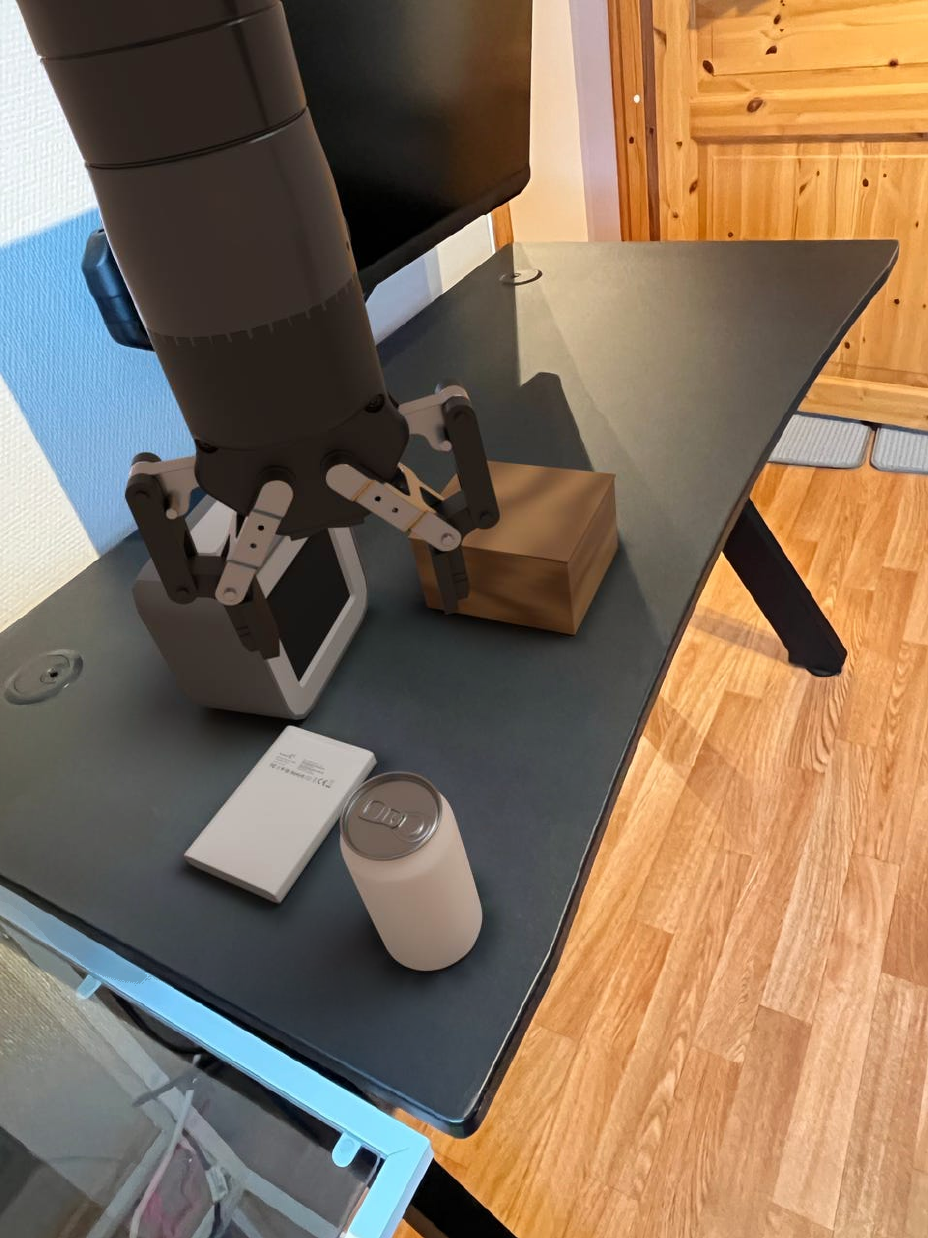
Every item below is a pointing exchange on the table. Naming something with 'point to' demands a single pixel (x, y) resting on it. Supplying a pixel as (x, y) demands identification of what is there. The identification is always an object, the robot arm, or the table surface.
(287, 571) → the alarm clock
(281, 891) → the hard drive
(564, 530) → the wooden block
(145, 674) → the table surface
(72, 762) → the table surface
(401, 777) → the can
